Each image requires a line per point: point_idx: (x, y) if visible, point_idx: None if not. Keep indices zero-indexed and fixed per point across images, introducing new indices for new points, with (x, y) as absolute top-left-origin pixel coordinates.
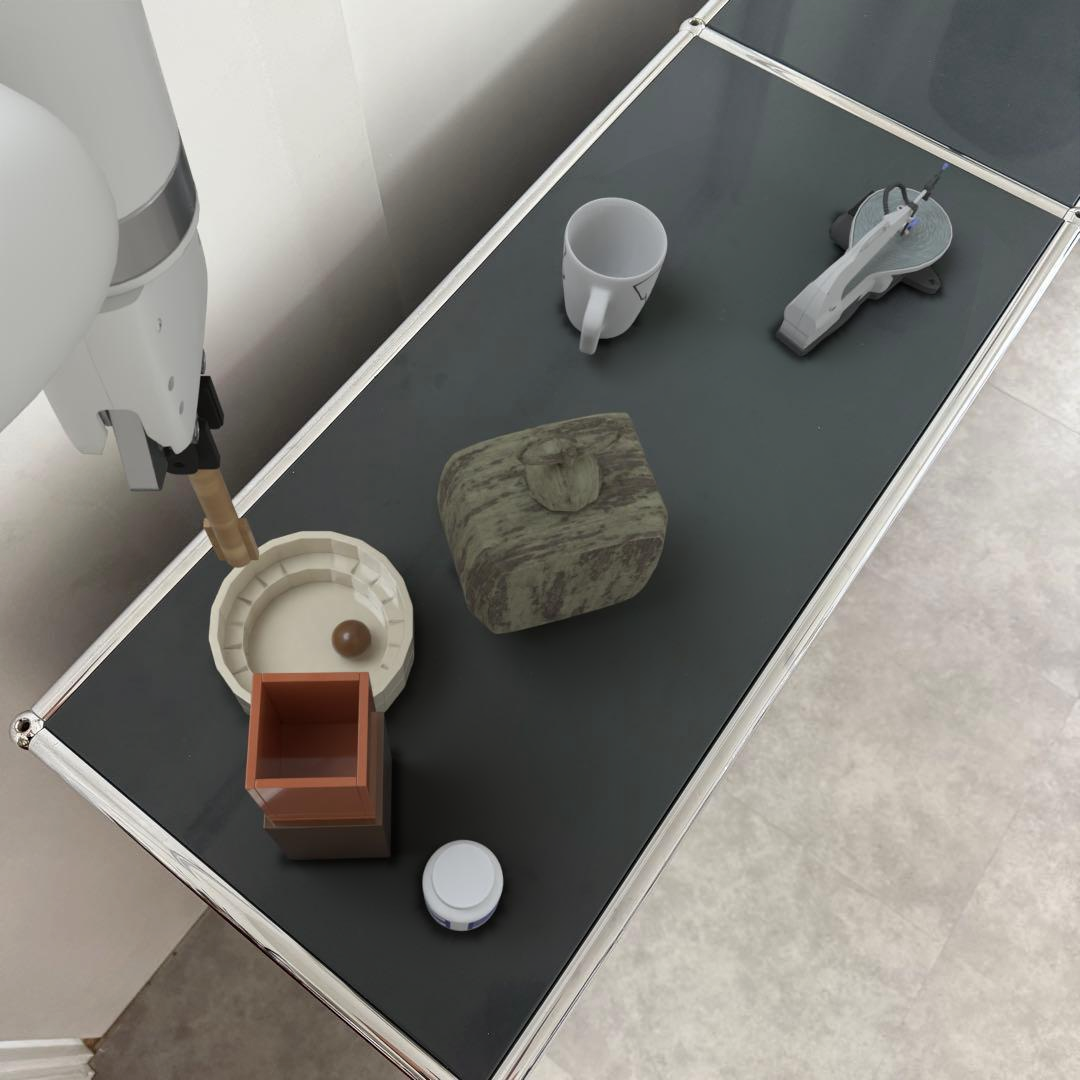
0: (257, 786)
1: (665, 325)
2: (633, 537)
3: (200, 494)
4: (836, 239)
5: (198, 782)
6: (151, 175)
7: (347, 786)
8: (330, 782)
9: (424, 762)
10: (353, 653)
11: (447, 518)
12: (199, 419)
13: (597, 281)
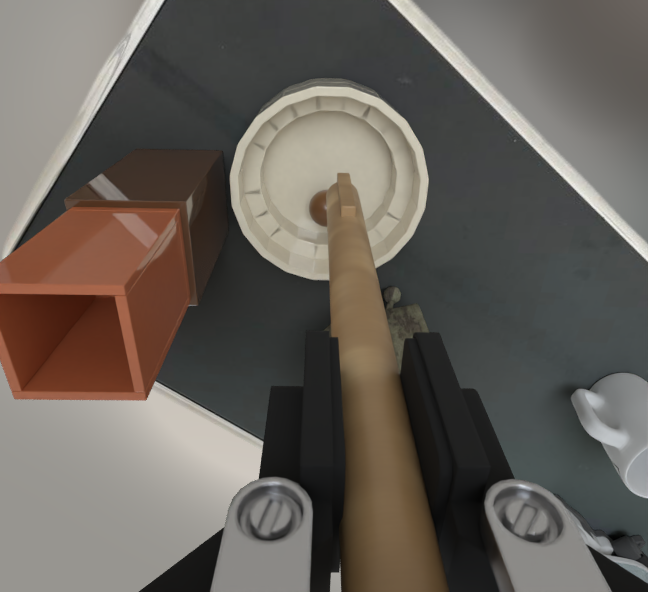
0: None
1: (585, 433)
2: None
3: (332, 286)
4: (622, 542)
5: (197, 58)
6: None
7: (9, 382)
8: (7, 368)
9: (227, 255)
10: (311, 213)
11: (400, 351)
12: (334, 570)
13: (632, 447)
